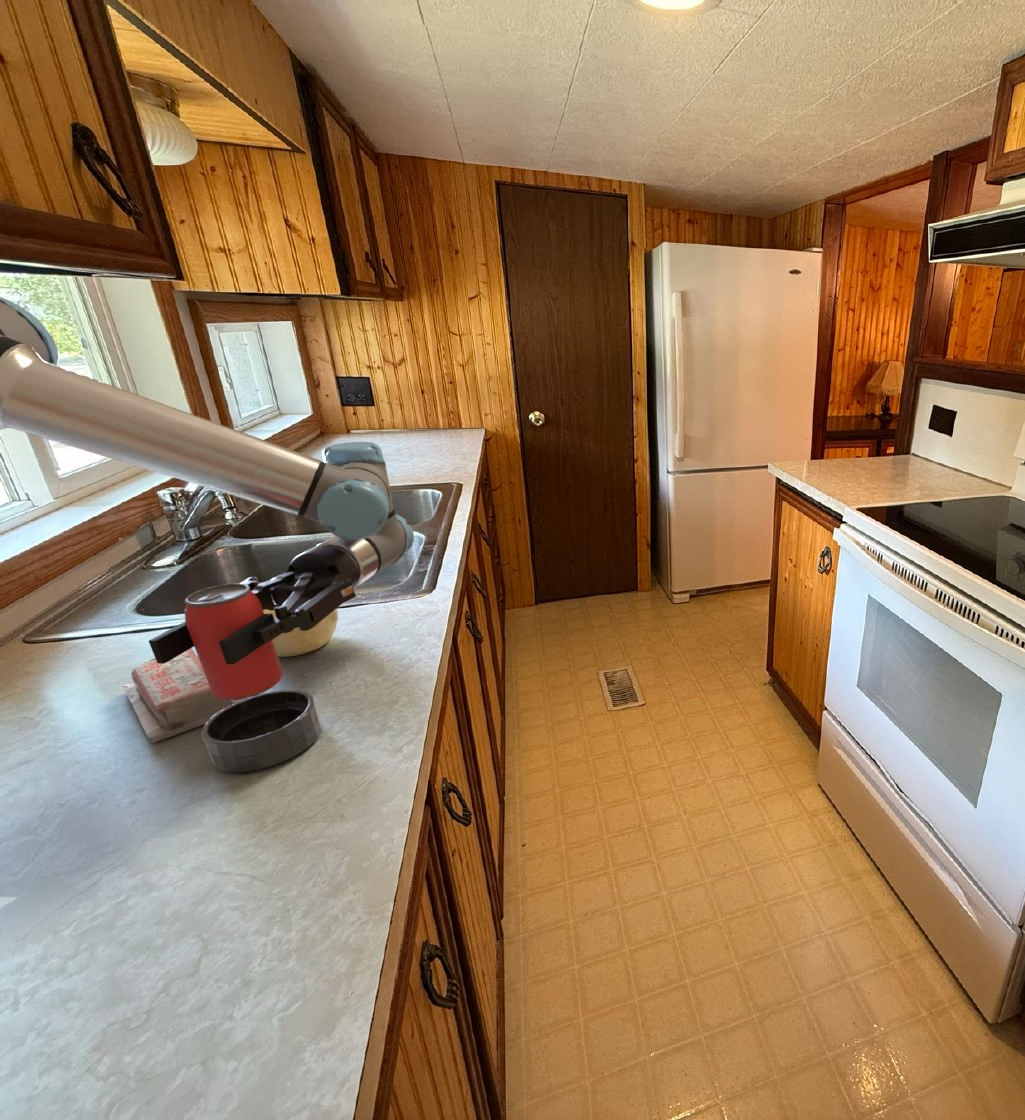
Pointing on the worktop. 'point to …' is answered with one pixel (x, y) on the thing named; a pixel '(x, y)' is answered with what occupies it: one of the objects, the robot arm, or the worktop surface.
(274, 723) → the bowl
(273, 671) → the beer can
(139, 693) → the packaged product
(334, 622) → the sculpture
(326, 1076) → the worktop surface
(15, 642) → the worktop surface
